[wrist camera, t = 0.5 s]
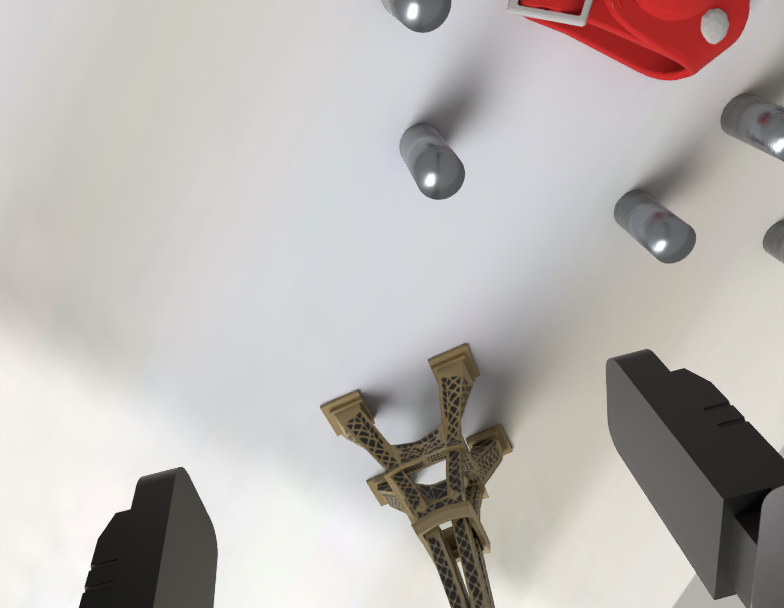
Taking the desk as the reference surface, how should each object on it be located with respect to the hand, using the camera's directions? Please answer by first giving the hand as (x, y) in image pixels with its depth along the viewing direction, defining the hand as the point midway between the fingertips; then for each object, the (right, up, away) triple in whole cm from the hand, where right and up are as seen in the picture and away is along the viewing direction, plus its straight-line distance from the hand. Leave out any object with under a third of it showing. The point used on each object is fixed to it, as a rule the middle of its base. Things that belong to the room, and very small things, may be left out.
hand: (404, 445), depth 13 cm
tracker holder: (+11, +20, +22) cm, 32 cm away
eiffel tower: (+2, -6, +35) cm, 35 cm away
